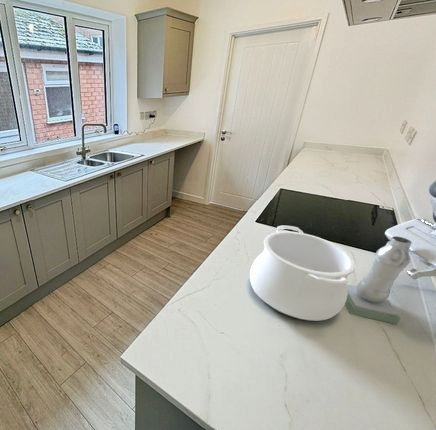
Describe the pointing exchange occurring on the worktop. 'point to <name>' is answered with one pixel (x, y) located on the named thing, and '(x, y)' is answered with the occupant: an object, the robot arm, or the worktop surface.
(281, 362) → the worktop surface
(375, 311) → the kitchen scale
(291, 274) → the pot
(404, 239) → the plastic bottle
